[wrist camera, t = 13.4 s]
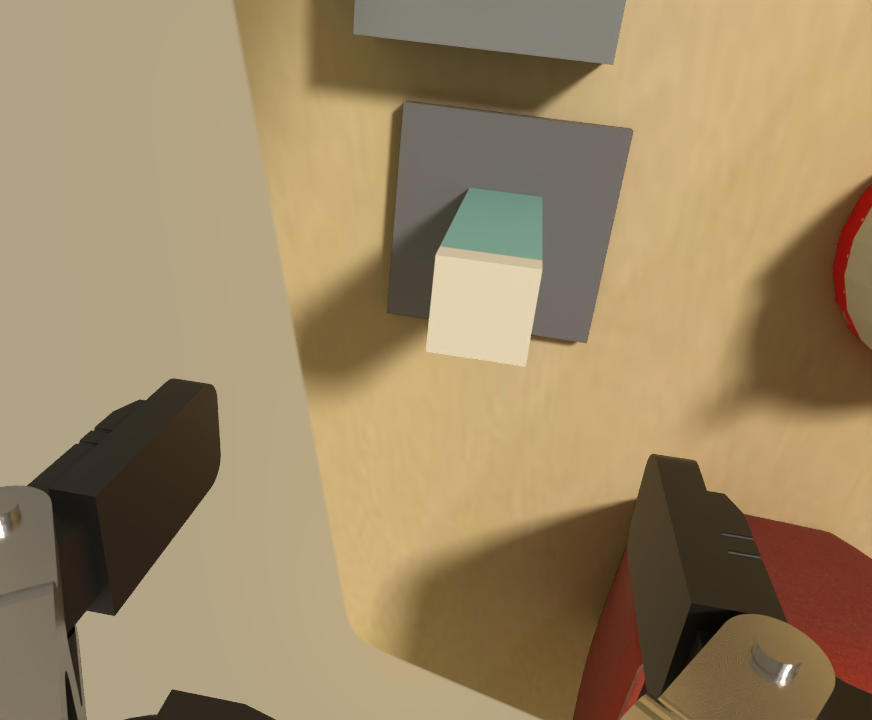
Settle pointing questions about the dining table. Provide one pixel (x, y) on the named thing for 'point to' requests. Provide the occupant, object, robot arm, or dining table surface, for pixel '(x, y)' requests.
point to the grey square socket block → (500, 25)
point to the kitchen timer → (856, 270)
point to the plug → (488, 278)
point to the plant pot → (799, 598)
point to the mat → (513, 173)
